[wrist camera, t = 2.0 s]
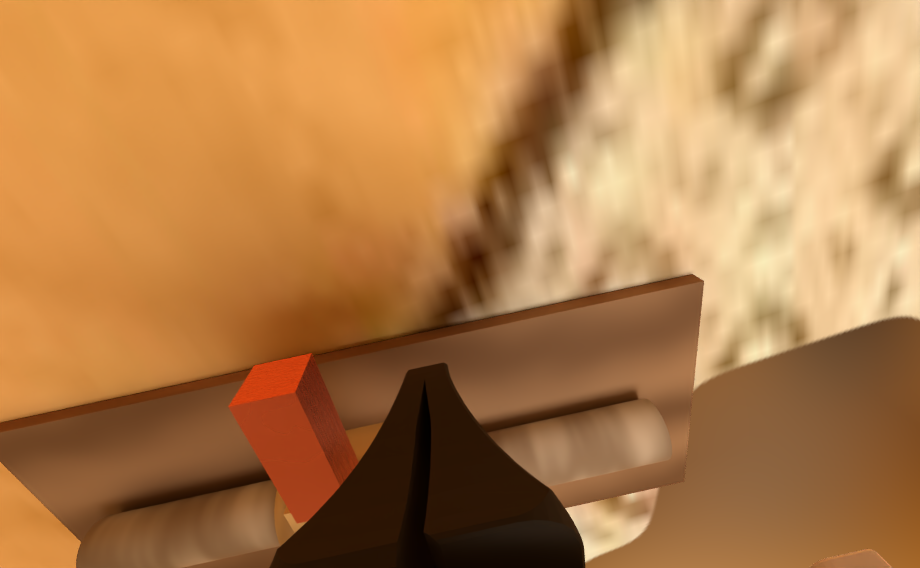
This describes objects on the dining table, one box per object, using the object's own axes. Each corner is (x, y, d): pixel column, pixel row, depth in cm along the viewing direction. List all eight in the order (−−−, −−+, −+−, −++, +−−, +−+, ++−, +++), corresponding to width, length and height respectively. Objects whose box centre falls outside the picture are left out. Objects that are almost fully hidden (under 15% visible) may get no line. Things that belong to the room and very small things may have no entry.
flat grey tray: (676, 470, 25) (731, 548, 20) (149, 587, 24) (91, 692, 20) (692, 274, 19) (776, 325, 14) (-7, 424, 18) (-140, 524, 14)
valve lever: (402, 553, 17) (400, 613, 15) (362, 561, 17) (355, 623, 15) (315, 344, 12) (294, 392, 10) (259, 356, 12) (227, 407, 10)
